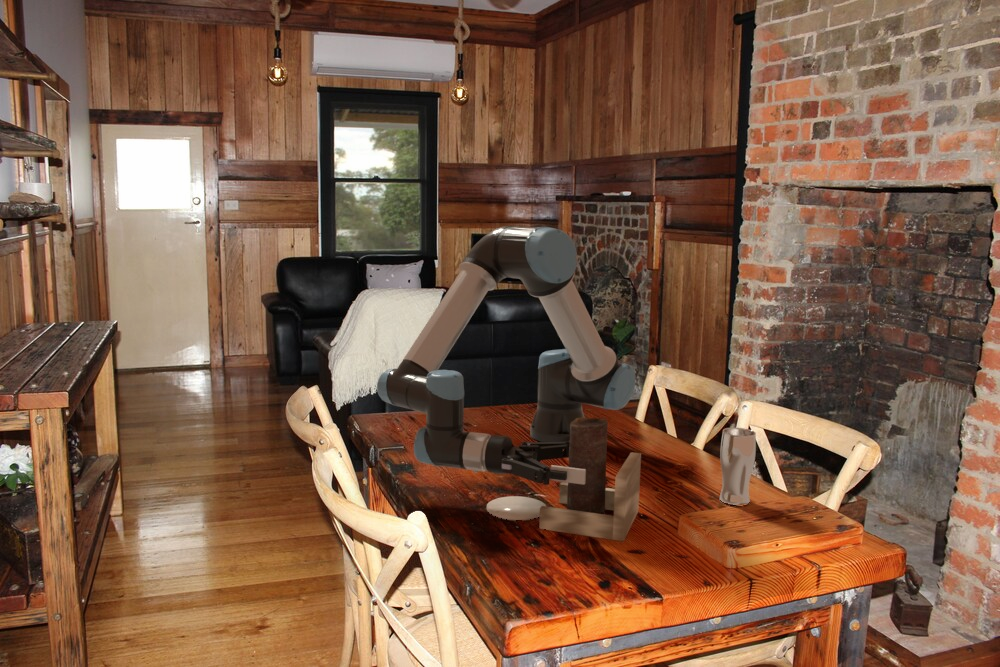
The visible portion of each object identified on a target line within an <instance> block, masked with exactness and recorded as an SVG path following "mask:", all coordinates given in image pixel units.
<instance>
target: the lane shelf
mask: <svg viewBox="0 0 1000 667" xmlns="http://www.w3.org/2000/svg"><path fill="white" fill-rule="evenodd" d="M641 463H642V453H641V452H640V453H639V452H631V451H630V453H629V455H628V456H627V458H626V459H625V461H624V462H623V464H622V466H621V467H620V468H619V471H618V472H617V473H616V475H615V479H614V480H615V482H614V488H610V487H605V510H607V511H613V515H611V514H605V515H604V514H597V513H590V512H583V511H576V510H569V509H567V508H562V507H561V508H560V507H555V506H554V507H553V506H547V505H546V506H541V508H540V517H539V519H538V520H539V524H538V525H539V526H538V527H539V528H538V529H540V530H544V529H546V531H550V532H551V531H552V532H560V533H565V534H572V535H579V536H585V537H591V538H593V537H594V538H598V539H604V540H605V539H606V540H612V541H619V542H625V540H626V537H627V535H628V533H629V532H630V529H631V527H632V525H633V523H634V521H635V519H636V517H637V515H638V513H639V505H640V504H639V503H640V483H641ZM567 494H568V482H561V481H560V483H559V494H558V495H559V496H558V498H559V499H558V502H559V504H562V505H567Z"/></svg>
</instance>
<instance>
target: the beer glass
mask: <svg viewBox="0 0 1000 667" xmlns="http://www.w3.org/2000/svg"><path fill="white" fill-rule="evenodd" d="M756 434H757V432H755V431H754V430H752V429H749V428H743V427H726V428H723V430H722V435H721V440H720V441H721V442H720V449H719V450H720V453H719V454H720V455H719V457H720V468H721V476H722V479H721V480H722V486H721V490H720V495H719V501H720V500H721V501H722V502H724V503H728V504H733V505H742V504H748V503H749V502H750V503H751V500H750V493H749V491H750V490H749V488H750V487H749V486H750V481H751V477H752V473H753V470H754V466H755V460H756V450H757V449H756V448H757V443H756V442H757V440H756V436H757V435H756ZM721 501H720V502H721ZM722 502H721V503H722ZM724 503H723V504H724ZM750 503H749V504H750Z"/></svg>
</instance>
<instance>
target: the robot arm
mask: <svg viewBox="0 0 1000 667" xmlns="http://www.w3.org/2000/svg"><path fill="white" fill-rule="evenodd" d="M577 256H578V252H577V248H576V245H575V242H574V241H573V239H572V238H571V236H570V235H569V234H568V233H566V232H565V231H563V230H562V229H559V228H553V227H549V226H539V227H536V226H516V225H504V226H500V227H497V228H495V229H493V230H491V231H490V232H488V233H487V234H486V235H484V236H483V237H482V238H480V240H478V241H477V242H476V243H475V244H474V245H473V247H472V248H471V249H470V250H469V251H468V252H467V254H466V255H465V257H464V258H463V259H462V261H461V262H460V263H459V265H458V271H459V273H458V274H457V276H456V278H455V280H454V281H453V282H452V284H451V286H450V287H449V289H448V290H447V292H446V294H445V295H444V296H443V298H442V299H441V300H440V302H439V304H438V306H437V307H436V309H435V310H434V311H433V313H432V315H431V316H430V317H429V318H428V321H427V322H426V324H425V326H424V327H423V328H422V330H421V331H420V333H419V334H418V336H417V338H416V339H415V340H414V342H413V344H412V345H411V347H410V348H409V350H408V351H407V353H406V354H405V356H404V357H403V359H402V361H401V362H400V364H399V366H398V367H397V368H389V369H386V370H385V371H383V372H382V373H381V374H380V376H379V377H378V379H377V380H378V381H377V384H376V389H377V390H376V391H377V394H378V396H379V398H380V399H381V401H383V402H385V403H388V404H390V405H392V406H395V407H397V408H399V407H401V408H403V409H408V410H412V411H414V412H417V413H422V414H425V415H426V417H425V418H426V425H425V426H423V427H420V428H419V429H418V430H417V431H416V434H415V436H414V442H413V453H414V457H415V459H416V460H417V461H418V462H419V463H422V464H427V465H430V466H431V465H432V466H434V467H445V468H455V469H463V470H470V471H473V473H475V474H477V473H478V472H486V471H487V472H488V473H491V474H497V475H505V474H511V475H514V476H517V477H520V478H522V479H526V480H528V481H531V482H534V483H537V484H543V485H544V486H545V485H546V486H548V485H550V481H553V482H554V481H555V482H560V483H561V482H565V483H576V484H583V485H585V481H586V469H579V468H571V467H569V466H564V465H563V466H562V465H556V464H555V465H553V464H551V465H550V466H548V465H546V464H545V463H543V462H541V461H548V460H556V459H566V458H568V459H569V445H570V424H571V422H572V421H574V420H575V419H576V418H582V417H583V418H585V415H584V411H583V404H585V405H590V406H593V407H598V408H602V409H605V410H614V411H618V410H621V409H623V408H624V407H626V406H627V405H628V404H629V402H630V400H631V398H632V396H633V393H634V392H635V388H636V371H635V369H634V367H633V366H632V365H630V364H628V363H625V362H624V363H621V362H620V360H619V359H618V357H617V354H616V352H615V351H614V350H613V349H612V348H611V347H609V346H606V345H605V344H604V342H603V341H602V340H603V339H602V338H601V337H600V334H599V332H598V330H597V328H596V325H595V324H594V322H593V320H592V318H591V316H590V314H589V311H588V310H587V308H586V304H585V303H584V301H583V299H582V297H581V295H580V293H579V291H578V289H577V287H576V285H575V283H574V281H573V280H574V277H575V274H576V268H577V265H578V259H577V258H576V257H577ZM506 278H509V279H516V280H517V279H519V280H520V281H521V282H522V283H523V286H524V287H525V290H526V291H527V293H528V294H529V296H532V297H534V298H538V299H539V301H540V303H541V305H542V306H543V308H544V311H545V312H546V314H547V316H548V318H549V320H550V322H551V324H552V326H553V327H554V329H555V331H556V333H557V336H558V337H559V338H560V341H561V342H562V344H563V346H564V348H562V349H552V350H546V351H544V352H542V353H541V354H540V355H539V358H538V367H537V369H538V370H537V407H536V411H535V413H534V415H533V416H534V417H533V419H532V422H531V425H530V427H529V428H530V433H529V434H530V437H531V439H533V440H535V441H534V442H533V441H525V440H524V441H522V442H521V444H520V445H517V446H516V445H514V444H513V441H512V438H511V437H510V436H508V435H497V434H492V435H491V434H490V433H483V432H473V431H465V430H464V409H465V407H464V406H465V405H464V404H465V388H464V387H465V386H464V385H465V384H464V376H463V375H462V373H461V372H459V371H457V370H453V369H451V370H448V369H440V367H441V365H442V364H443V363H444V361H445V359H446V358H447V356H448V355H449V353H450V352H451V350H452V348H453V347H454V345H455V344H456V343H457V341H458V339H459V337H460V336H461V334H462V332H463V331H464V329H465V328H466V326H467V325H468V323H469V322H470V320H471V318H472V316H474V314H475V312H476V310H477V309H478V307H479V306H480V305H481V302H482V301H483V300H484V298H485V296H486V295H487V293H488V291H494V290H495V289H496V287H497V286H498V284H499V283H500V282H501V281H502V280H504V279H506ZM537 441H538V442H537Z"/></svg>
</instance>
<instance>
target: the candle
mask: <svg viewBox="0 0 1000 667" xmlns="http://www.w3.org/2000/svg"><path fill="white" fill-rule="evenodd" d="M584 417H585V416H584ZM607 440H608V420H607V419H606V418H598V417H591V418H589V417H585V418H583V417H582V418H576V419H575V420H574V421H572V422H571V424H570V445H569V457H568V467H571V468H579V469H586V481H585V485H583V484H576V483H568V482H567V483H568V494H567V504H566V509H569V510H576V511H583V512H590V513H597V514H604V515H606V514H605V513H606V511H605V510H606V509H605V488H606V486H607V485H606V482H607V477H606V476H607V452H608V451H607V449H608V441H607Z"/></svg>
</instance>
